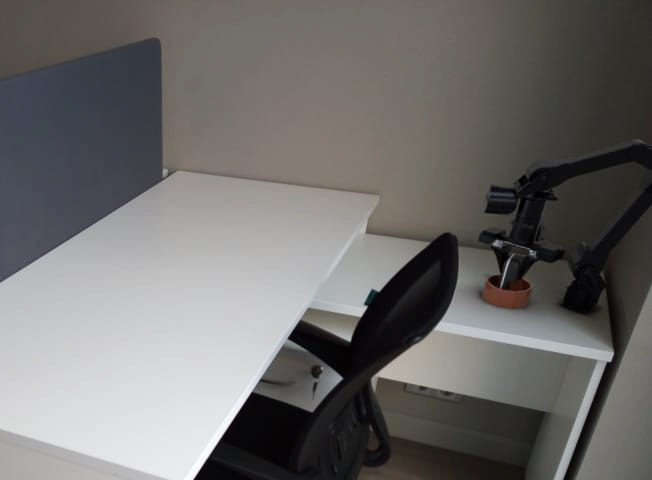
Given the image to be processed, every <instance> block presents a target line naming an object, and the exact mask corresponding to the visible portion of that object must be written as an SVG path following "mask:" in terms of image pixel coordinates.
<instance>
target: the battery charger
mask: <svg viewBox="0 0 652 480" xmlns="http://www.w3.org/2000/svg"><path fill="white" fill-rule="evenodd" d="M524 257H525V256H523V255H521V254H517V253H509V256H508V257H507V258H506V260H505V262H504V265H503V269H502V272H501V276H500V279H499V283H498V288H501V289H503V290H510V282H511V281H512V282H515V281H516V280H517V279H518V278H519V272H520V269H521V265H522V262H523V258H524ZM510 291H511V290H510Z"/></svg>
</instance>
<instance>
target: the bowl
mask: <svg viewBox="0 0 652 480" xmlns="http://www.w3.org/2000/svg"><path fill="white" fill-rule="evenodd" d="M500 276H501V274H500V273H498V274H491V275H489V276H487V277H485V280H484V284H483V288H482V293H481V299H483V300H484V302H486V303H488V304H489V305H493V306H496V307H500V308H505V309H506V308H507V309H518V308H521V309H522V308H524V307H526V306H527V305H528V304H529V301H530V297H531V294H532V291H533V283H532V282H530V281H529V280H527V279H526V278H524V277H523V278H522V279H521V280H518V279H517V280H516V281H515V282H512V281H511V282H510V290H511V291H510V290H503V289H501V288H498V283H499V279H500Z"/></svg>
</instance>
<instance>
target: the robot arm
mask: <svg viewBox="0 0 652 480" xmlns="http://www.w3.org/2000/svg"><path fill="white" fill-rule="evenodd" d="M633 162H634V163H636V164H638V165H640V166H642V167H643V168H645V169H646V170H645V172H644V173H643V176H642V179H641V182H640V183H639V186H638V188H637V189H636V190H635V191H634V192H633V193H632V195H631V196H630V197H629V198H628V199H627V201H625V203H624V204H623V205H622V206H621V208H620V209H619V210H618V211H617V212H616V213H615V214H614V216H613V217H612V218H611V219H610V221H608V223H607V224H606V225H605V226H604V227H603V228H602V230H600V232H599V233H598V234H597V235H596V237H595V238H594V239H592V240H591V241H589V242H587V243H585V242H584V241H579V243H578V245H577V246H576V247H575V249H574V250H573V251H572V252H570V253H569V259H568V261H567V265H568V268H569V270H570V272H571V274H572V276H573V278H574V279H573V280H572V281H571V282H570V285H567V286H566V289H565V292H564V296H563V299H562V301H563V302H561V303H560V306H561V307H564V308H567V309H570V310H573V311H575V312H579V313H581V314H585V315H588V314H590V313H592V312H593V311H595V310H597V309H598V308H599V307H600V305H599V304H598V303H599V301H600V297H601V294H602V292H603V291H604V290H605V289H606V288H607V287H608V283H607V281H606V279H605V278H604V276H603V274H602V272H603V270H604V269H605V267H606V265H607V264H608V261H609V259H610V255H611V254H612V251H613V250H614V249H615V247H617V245H618V244H619V243H620V242H621V241H622V240H623V239H624V237H626V235H627V234H628V233H629V232H630V231H631V229H632V228H634V226H635V225H636V224H637V223H638V221H640V219H641V218H642V217H643V216H644V215H645V214H646V213H647V212H648V210H649V209H650V208H651V207H652V145H649V144H647V143H645V142H644V141H643V140H641V139H639V138H633V139H630V140H627V141H626V142H625V141H624V142H622V143H618V144H615V145H612V146H607V147H604V148H601V149H597V150H594V151H590V152H586V153H582V154H579V155H575V156H572V157H565V158H547V159H539V160H538V159H537V160H535V161H533V162H532V163H530V164H529V165H528V167H527V168H526V169H525V172H524V173H523V174H522V175H521V176H520V177H519V178H517V179H516V180H515V181H514V182H513V183H512V185H500V184H497V183H491V184H490V185H489V188H488V190H487V192H486V194H485V195H484V199H483V204H482V213H483V214H487V215H488V214H489V215H490V214H491V215H500V216H501V215H502V216H503V215H504V216H509V215H510V214H513V213H514V212H515V211H516V212H515V215H514V218H513V219H511V221H510V225H511V230H510V233H509V235H507V230H506V229H503V228H500V227H496V226H490V227H488V228H486V229H484V230H482V231H480V233H479V235H478V236H479V237H478V239H477V241H478V242H479V243H481V244H486V245H490V249H491V250H492V251H493V252H494V256H495V258H496V261H497V266H498V271H499V274H501V272H502V269H503V265H504V262H505V260H506V258H507V257H508V256H509V255H510V252H511V250H512V248H513V247H516V248H518V249H522V250H526V251H529V254H526V255H524V256H523V257H524V258H523V262H522V265H521V269H520V272H519V278H518V280H521V279H522V278H524V277H525V276H526V275H527V273H528V272H529V270H530V269H531V267H533V265H534V264H535V263H537V262H538V261H541V262H545V263H547V264H553V263H555V262H557V261H559V260H561V259H563V258H564V254H565V248H564V246H563V245H559V244H555V243H552V242H547V243H545V244H542V245H541V244H537V243H538V242H540V241H545V240H546V237H547V235H548V233H549V231H550V227H547V226H543V225H544V220H543V216H544V213H545V209H546V206H547V203H548V201H551V202H557V201H559V198H558V196H557V194H556V193H555V191H554V189H553V188H556V187H559V186H561V185H562V184H564V183H565V182H567V181H569V180H571V179H573V178H575V177H579V176H583V175H587V174H590V173H595V172H598V171H602V170H607V169H609V168H613V167H616V166H620V165H624V164H628V163H633ZM491 244H492V245H491Z"/></svg>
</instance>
